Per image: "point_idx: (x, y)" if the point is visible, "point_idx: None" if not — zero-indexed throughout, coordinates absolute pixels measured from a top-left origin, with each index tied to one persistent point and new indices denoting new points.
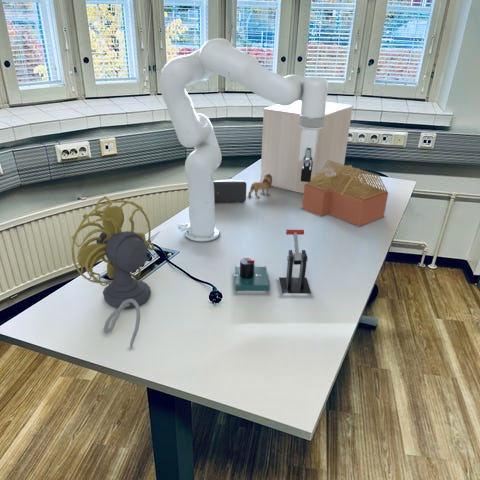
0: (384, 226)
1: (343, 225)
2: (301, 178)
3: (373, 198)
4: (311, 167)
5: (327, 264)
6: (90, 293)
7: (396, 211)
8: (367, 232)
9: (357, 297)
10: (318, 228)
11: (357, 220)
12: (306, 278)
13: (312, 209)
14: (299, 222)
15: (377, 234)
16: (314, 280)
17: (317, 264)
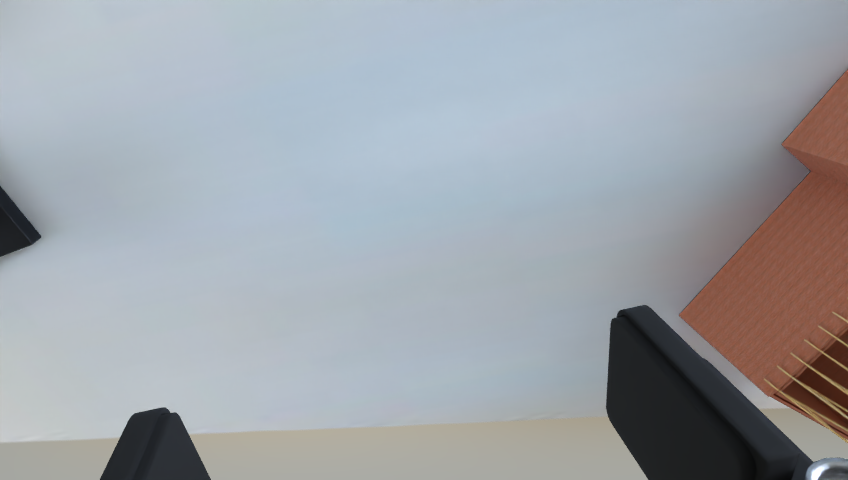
0: None
1: (680, 259)
2: (123, 453)
3: (807, 416)
4: (650, 477)
5: (258, 281)
6: None
7: None
8: None
9: (44, 425)
10: (632, 163)
11: (701, 318)
12: (21, 246)
13: (846, 93)
14: (698, 50)
15: None
16: (71, 267)
17: (235, 244)
